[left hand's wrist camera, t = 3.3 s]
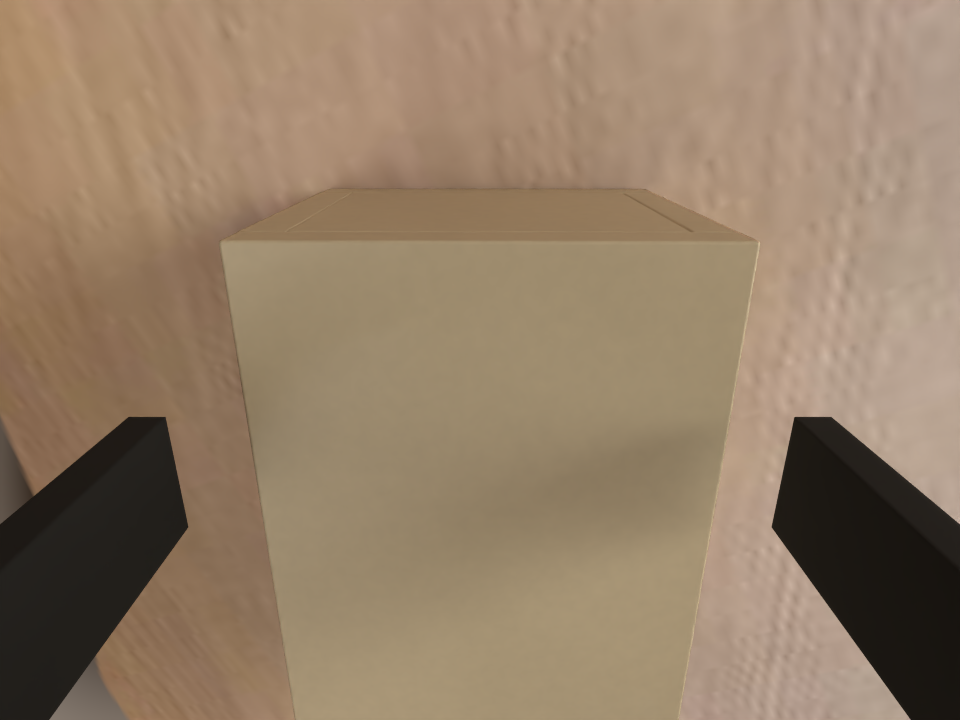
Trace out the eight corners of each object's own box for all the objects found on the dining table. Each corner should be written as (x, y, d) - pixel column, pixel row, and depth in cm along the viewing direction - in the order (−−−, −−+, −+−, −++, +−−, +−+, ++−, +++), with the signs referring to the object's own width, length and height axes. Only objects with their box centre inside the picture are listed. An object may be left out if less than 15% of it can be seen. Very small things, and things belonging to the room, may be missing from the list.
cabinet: (608, 577, 27) (667, 794, 18) (362, 576, 27) (305, 791, 18) (647, 189, 21) (762, 241, 12) (327, 188, 21) (216, 240, 12)
